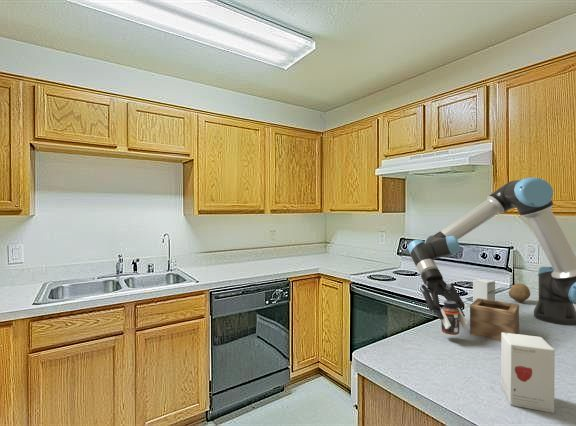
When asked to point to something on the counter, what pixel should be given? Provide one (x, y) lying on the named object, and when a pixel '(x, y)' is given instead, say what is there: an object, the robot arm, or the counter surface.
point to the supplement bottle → (451, 318)
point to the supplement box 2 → (527, 371)
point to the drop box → (493, 318)
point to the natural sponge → (519, 292)
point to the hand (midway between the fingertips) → (456, 326)
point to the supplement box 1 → (483, 289)
